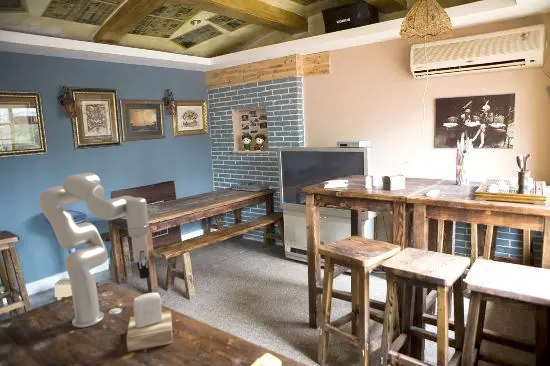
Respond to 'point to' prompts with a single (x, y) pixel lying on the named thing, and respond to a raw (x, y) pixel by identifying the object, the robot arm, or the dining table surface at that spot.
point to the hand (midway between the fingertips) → (143, 273)
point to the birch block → (150, 333)
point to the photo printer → (147, 309)
